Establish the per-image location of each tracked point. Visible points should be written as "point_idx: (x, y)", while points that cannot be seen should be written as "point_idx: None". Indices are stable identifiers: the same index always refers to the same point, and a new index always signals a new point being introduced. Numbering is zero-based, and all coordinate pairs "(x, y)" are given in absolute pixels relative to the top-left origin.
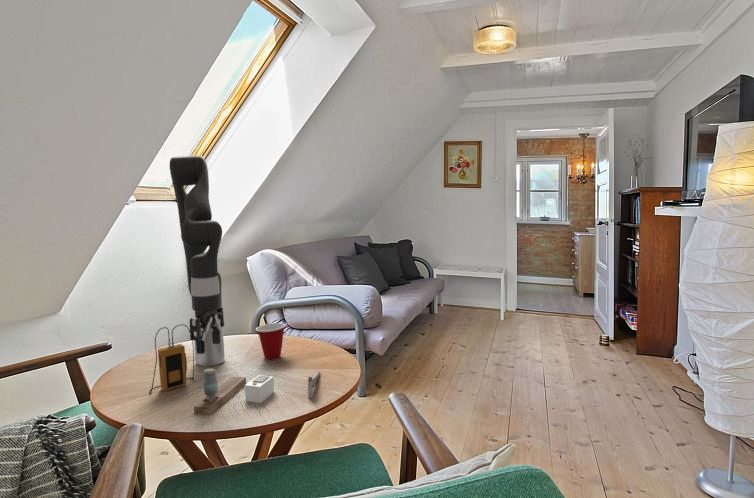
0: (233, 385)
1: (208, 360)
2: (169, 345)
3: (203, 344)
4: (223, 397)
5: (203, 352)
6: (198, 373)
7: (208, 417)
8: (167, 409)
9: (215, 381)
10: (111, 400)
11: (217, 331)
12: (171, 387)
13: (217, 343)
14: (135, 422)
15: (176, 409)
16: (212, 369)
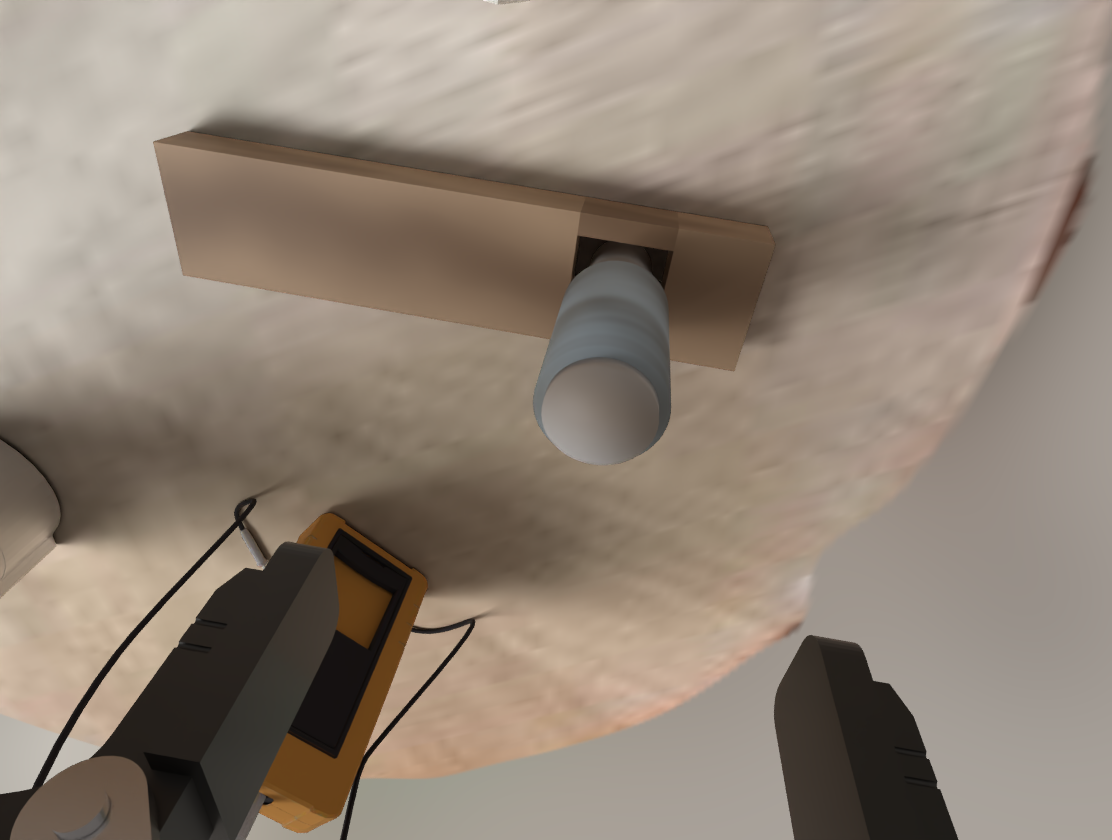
0: (342, 196)
1: (14, 501)
2: (252, 818)
3: (909, 809)
4: (564, 207)
5: (856, 659)
6: (159, 498)
7: (819, 226)
8: (654, 503)
9: (628, 308)
10: (542, 718)
11: (195, 781)
12: (395, 565)
13: (331, 569)
14: (798, 587)
15: (658, 461)
16: (565, 400)
